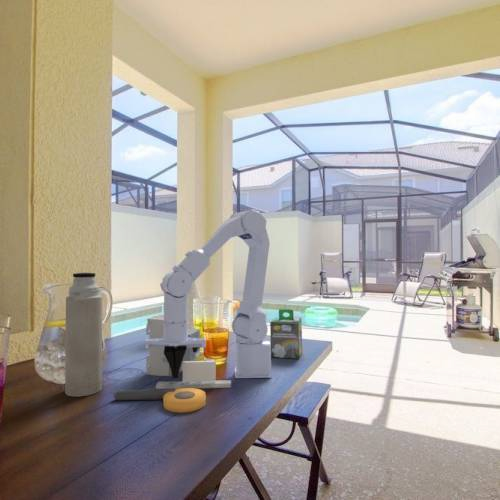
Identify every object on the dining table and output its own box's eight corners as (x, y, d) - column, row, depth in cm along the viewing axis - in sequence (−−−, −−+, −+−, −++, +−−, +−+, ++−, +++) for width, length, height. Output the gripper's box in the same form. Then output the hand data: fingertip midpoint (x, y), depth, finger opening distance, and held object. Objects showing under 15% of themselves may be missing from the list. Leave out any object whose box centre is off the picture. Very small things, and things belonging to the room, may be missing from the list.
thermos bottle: (83, 383, 94) (83, 271, 94) (109, 386, 91) (109, 272, 92) (57, 394, 86) (58, 273, 87) (84, 398, 84) (85, 273, 84)
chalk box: (302, 352, 124) (302, 307, 124) (299, 359, 115) (299, 311, 115) (275, 350, 126) (275, 306, 126) (269, 357, 117) (269, 310, 117)
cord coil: (207, 395, 85) (207, 387, 85) (204, 411, 76) (204, 402, 76) (167, 396, 85) (167, 388, 85) (159, 413, 76) (159, 403, 76)
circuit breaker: (196, 378, 98) (196, 320, 98) (146, 374, 100) (146, 319, 101) (205, 369, 105) (205, 316, 105) (158, 366, 108) (158, 314, 108)
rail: (231, 384, 93) (231, 380, 93) (231, 387, 90) (231, 383, 90) (157, 385, 92) (157, 381, 92) (155, 389, 89) (155, 385, 89)
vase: (154, 341, 139) (154, 280, 140) (172, 332, 156) (172, 277, 157) (199, 343, 136) (199, 280, 137) (212, 333, 154) (212, 277, 154)
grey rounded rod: (178, 397, 84) (178, 388, 84) (176, 400, 82) (176, 391, 82) (115, 398, 84) (115, 389, 84) (112, 401, 82) (112, 392, 82)
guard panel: (215, 380, 92) (215, 360, 92) (215, 381, 91) (215, 361, 91) (183, 381, 91) (183, 361, 91) (182, 382, 90) (182, 362, 91)
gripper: (141, 324, 87) (141, 383, 86) (204, 324, 87) (204, 382, 87) (148, 319, 94) (148, 373, 93) (206, 318, 94) (206, 372, 94)
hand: (175, 377), depth 91 cm, fingers closed
